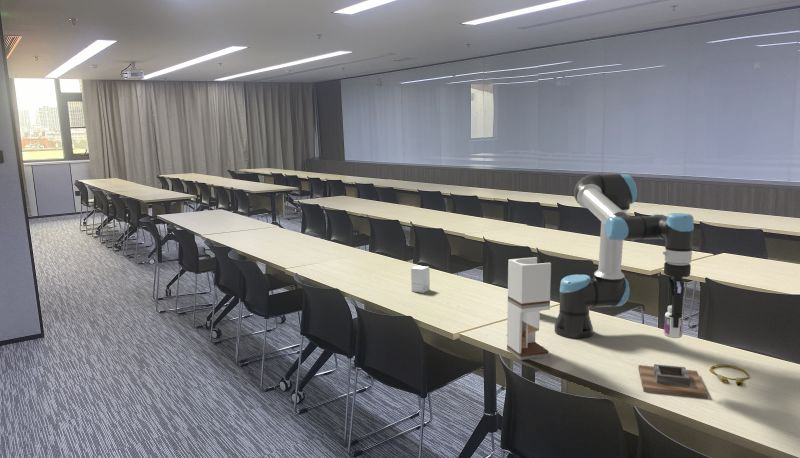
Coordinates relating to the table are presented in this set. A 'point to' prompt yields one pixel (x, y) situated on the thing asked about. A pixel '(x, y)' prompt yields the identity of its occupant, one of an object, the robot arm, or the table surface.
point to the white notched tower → (526, 305)
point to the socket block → (671, 381)
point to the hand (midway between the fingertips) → (673, 333)
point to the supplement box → (420, 279)
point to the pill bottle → (667, 323)
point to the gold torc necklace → (724, 380)
